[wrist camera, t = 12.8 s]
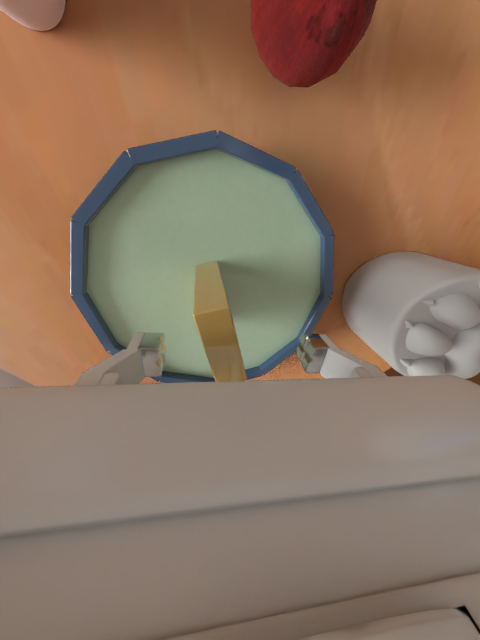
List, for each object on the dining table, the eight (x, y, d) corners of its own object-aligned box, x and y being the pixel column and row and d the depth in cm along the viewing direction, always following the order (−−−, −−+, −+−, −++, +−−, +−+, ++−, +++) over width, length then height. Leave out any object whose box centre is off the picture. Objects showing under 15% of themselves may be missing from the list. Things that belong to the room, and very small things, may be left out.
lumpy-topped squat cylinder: (394, 351, 29) (461, 406, 22) (320, 317, 25) (372, 372, 17) (461, 282, 25) (570, 320, 18) (387, 226, 21) (493, 246, 13)
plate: (324, 350, 25) (377, 418, 17) (145, 396, 24) (121, 488, 16) (327, 111, 14) (465, 25, 7) (11, 178, 13) (-215, 162, 6)
